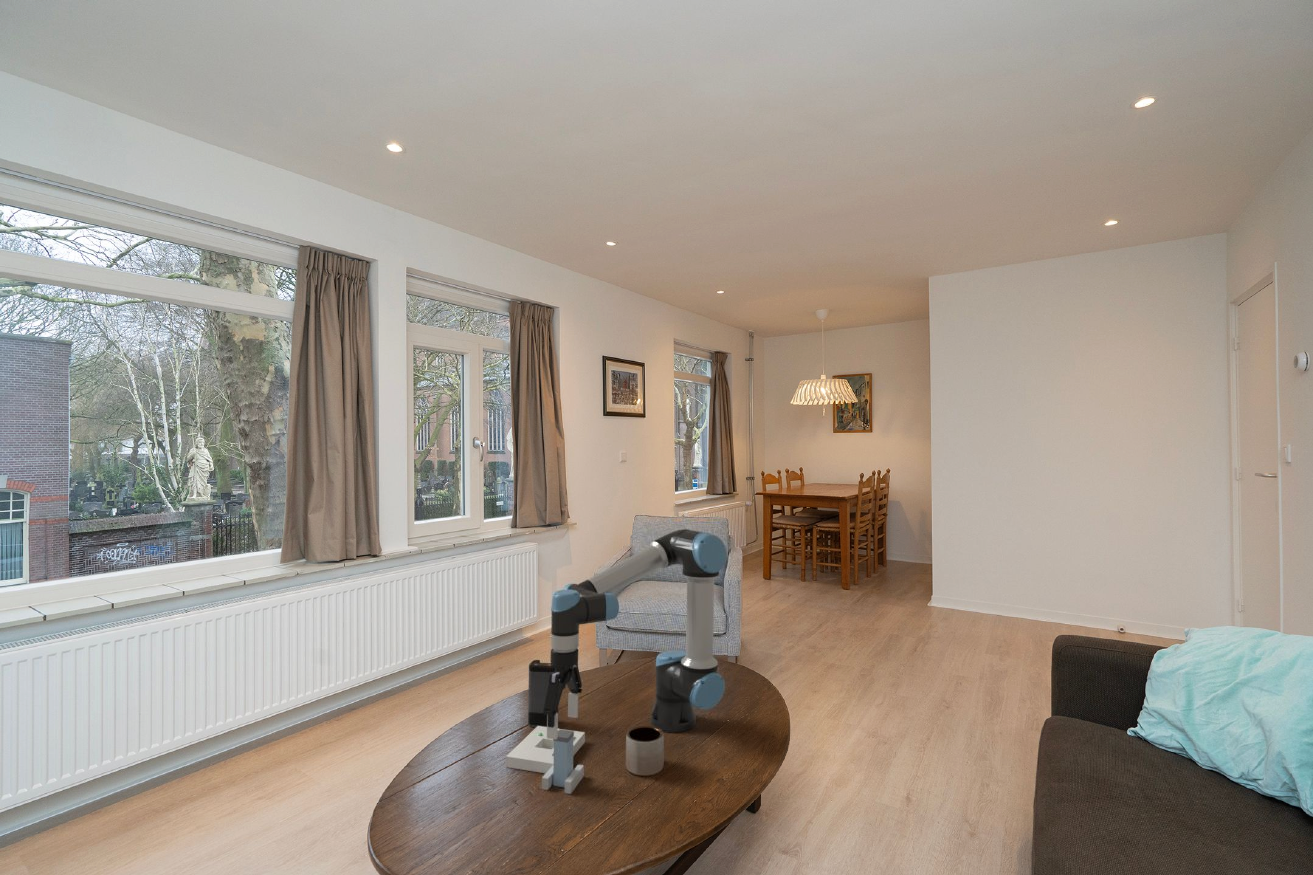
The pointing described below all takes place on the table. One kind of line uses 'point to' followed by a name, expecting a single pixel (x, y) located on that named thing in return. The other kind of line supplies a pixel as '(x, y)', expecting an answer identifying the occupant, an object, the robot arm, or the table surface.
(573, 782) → the cradle
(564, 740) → the plug
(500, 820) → the table surface
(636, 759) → the planter
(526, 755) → the port plate
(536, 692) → the electronic device
